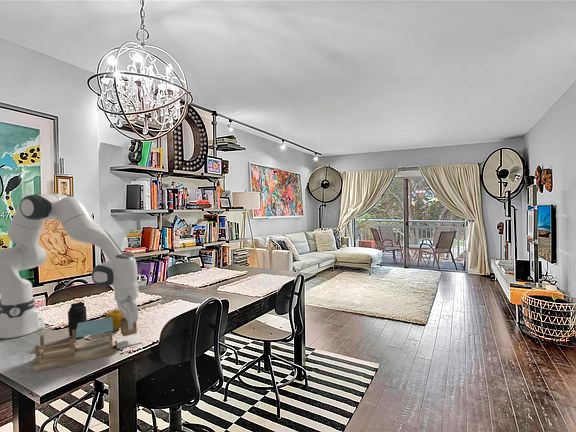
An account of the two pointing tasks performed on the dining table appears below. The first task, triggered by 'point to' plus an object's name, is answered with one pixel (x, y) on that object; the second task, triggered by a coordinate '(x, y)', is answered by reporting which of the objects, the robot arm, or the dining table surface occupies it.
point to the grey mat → (128, 341)
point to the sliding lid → (94, 327)
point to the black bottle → (76, 316)
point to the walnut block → (125, 330)
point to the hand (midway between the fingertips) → (128, 326)
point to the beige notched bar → (71, 352)
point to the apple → (115, 318)
